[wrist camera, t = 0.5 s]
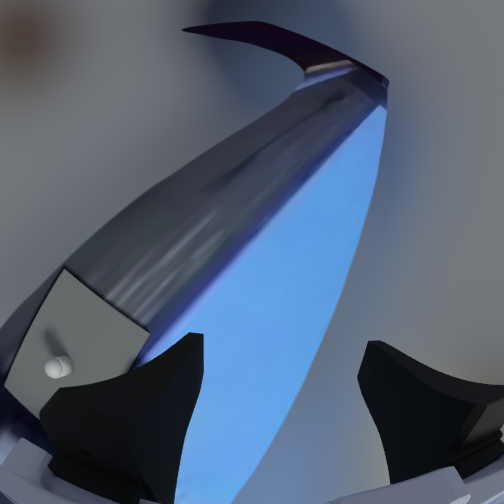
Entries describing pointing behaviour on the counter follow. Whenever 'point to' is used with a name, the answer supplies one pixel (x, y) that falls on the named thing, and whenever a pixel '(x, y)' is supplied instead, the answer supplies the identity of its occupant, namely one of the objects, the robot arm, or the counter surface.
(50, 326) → the keeper plate
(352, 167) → the counter surface
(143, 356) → the counter surface
